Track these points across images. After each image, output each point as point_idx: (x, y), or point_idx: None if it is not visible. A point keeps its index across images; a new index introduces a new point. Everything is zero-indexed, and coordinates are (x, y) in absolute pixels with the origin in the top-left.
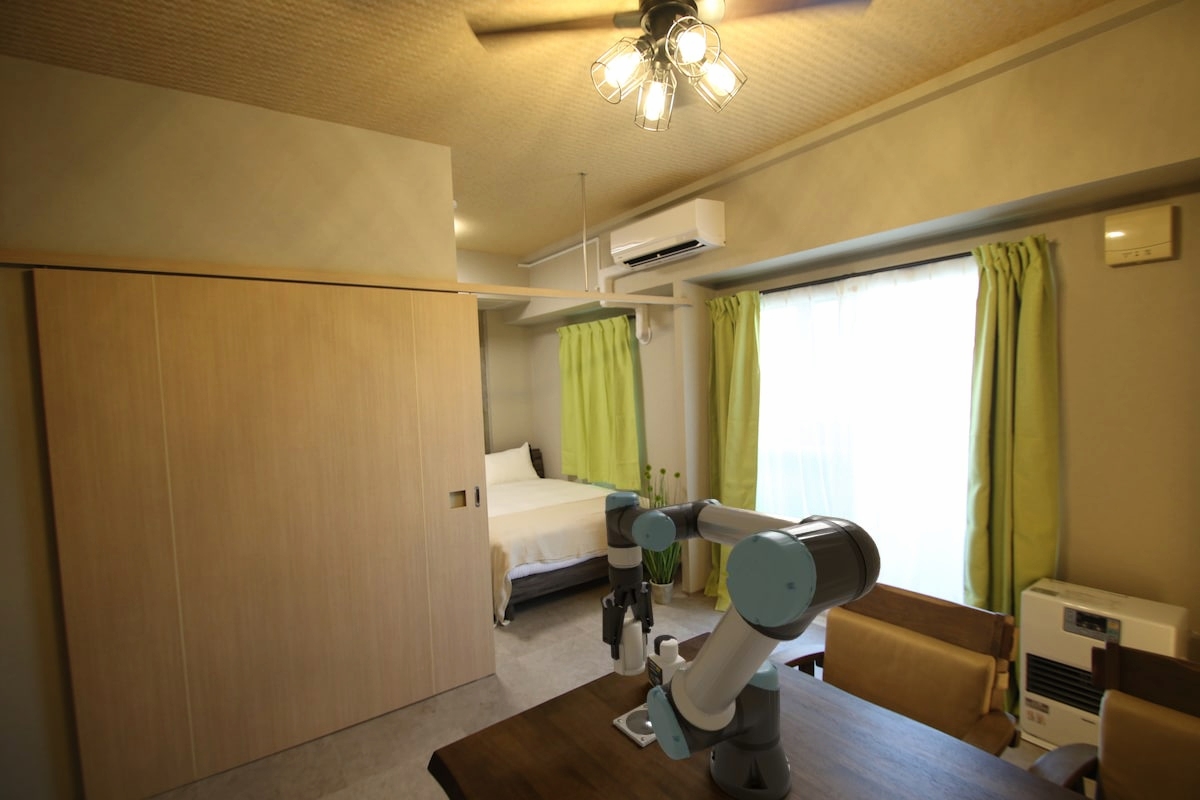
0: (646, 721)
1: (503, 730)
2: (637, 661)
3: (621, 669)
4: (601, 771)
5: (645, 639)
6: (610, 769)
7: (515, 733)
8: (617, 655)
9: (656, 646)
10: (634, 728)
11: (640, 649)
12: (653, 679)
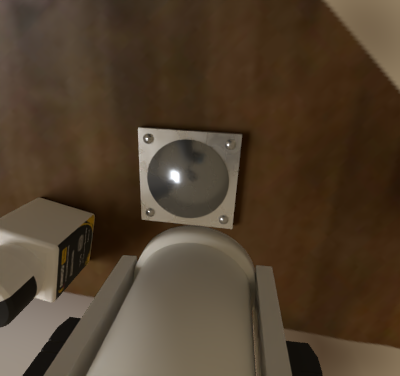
0: (183, 178)
1: (387, 345)
2: (198, 269)
3: (275, 288)
4: (360, 144)
5: (62, 353)
6: (343, 134)
7: (380, 327)
8: (302, 367)
9: (18, 303)
10: (219, 181)
11: (155, 313)
12: (83, 252)
